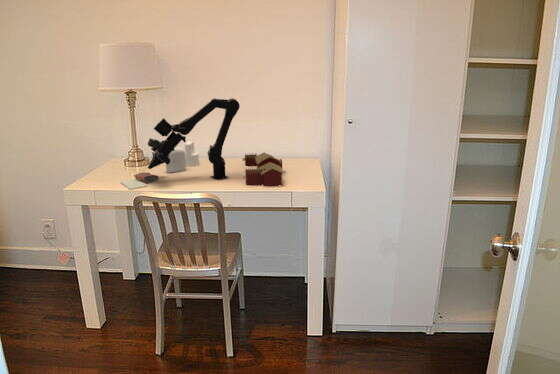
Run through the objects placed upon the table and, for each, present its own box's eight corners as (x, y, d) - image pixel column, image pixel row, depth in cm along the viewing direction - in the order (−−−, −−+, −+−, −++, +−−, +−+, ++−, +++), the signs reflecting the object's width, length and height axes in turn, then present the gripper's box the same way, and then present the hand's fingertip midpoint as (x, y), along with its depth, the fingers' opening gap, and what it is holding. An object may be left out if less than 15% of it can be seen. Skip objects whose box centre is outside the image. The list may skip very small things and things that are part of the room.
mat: (148, 186, 218) (148, 185, 218) (130, 189, 213) (129, 188, 213) (137, 179, 229) (137, 178, 229) (120, 182, 224) (119, 181, 224)
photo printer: (184, 168, 248) (182, 145, 244) (187, 170, 244) (185, 147, 241) (165, 171, 242) (163, 148, 239) (168, 173, 239) (166, 149, 235)
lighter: (158, 181, 227) (147, 177, 234) (158, 174, 226) (147, 170, 233) (144, 183, 221) (132, 179, 228) (144, 176, 221) (132, 172, 227)
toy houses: (287, 186, 218) (287, 165, 215) (243, 188, 216) (242, 166, 213) (276, 162, 261) (276, 144, 258) (239, 163, 258) (238, 145, 255)
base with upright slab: (184, 162, 261) (183, 141, 257) (200, 162, 260) (199, 141, 257) (180, 166, 252) (179, 144, 249) (197, 166, 252) (195, 144, 248)
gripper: (153, 128, 226) (132, 153, 225) (161, 135, 210) (137, 162, 209) (171, 143, 231) (150, 167, 230) (179, 151, 215) (157, 177, 214)
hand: (148, 168), depth 221 cm, fingers closed
